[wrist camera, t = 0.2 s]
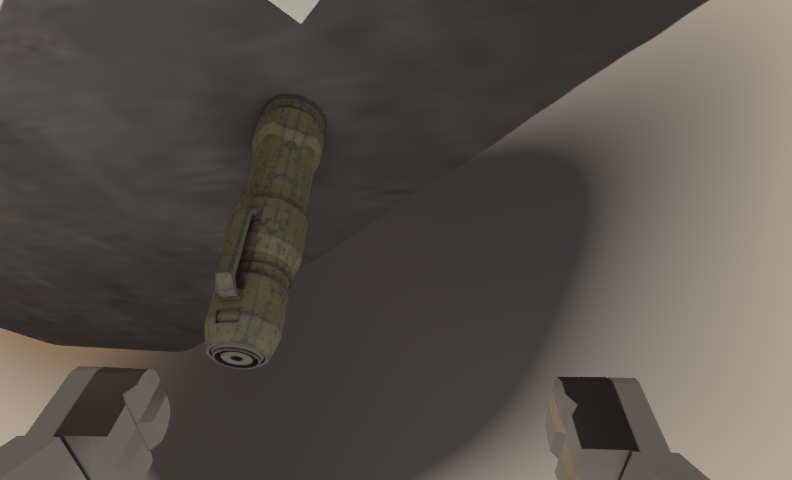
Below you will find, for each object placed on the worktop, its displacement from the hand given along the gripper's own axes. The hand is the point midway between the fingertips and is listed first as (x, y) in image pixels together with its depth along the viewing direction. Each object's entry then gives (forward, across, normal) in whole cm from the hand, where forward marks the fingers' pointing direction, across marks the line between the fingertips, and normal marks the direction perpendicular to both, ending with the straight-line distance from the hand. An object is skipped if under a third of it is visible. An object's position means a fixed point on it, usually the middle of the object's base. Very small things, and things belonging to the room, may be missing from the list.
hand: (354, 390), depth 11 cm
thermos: (+60, +16, +18) cm, 65 cm away
